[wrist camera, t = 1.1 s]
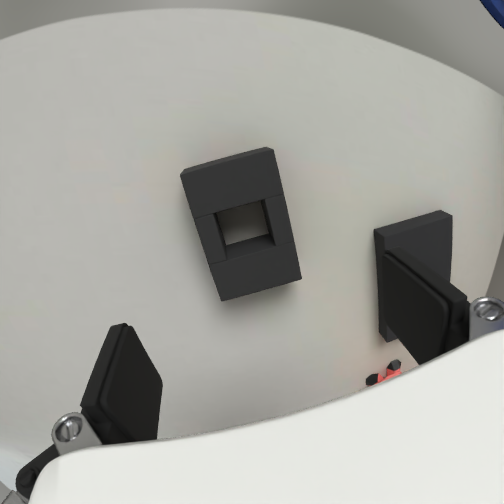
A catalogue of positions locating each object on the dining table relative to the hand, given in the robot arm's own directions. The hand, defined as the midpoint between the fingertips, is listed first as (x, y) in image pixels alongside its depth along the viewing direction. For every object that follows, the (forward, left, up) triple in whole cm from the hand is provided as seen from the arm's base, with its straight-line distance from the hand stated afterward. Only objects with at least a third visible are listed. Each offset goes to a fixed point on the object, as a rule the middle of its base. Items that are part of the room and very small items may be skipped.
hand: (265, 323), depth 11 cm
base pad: (+11, +15, -15) cm, 24 cm away
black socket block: (+1, 0, -15) cm, 15 cm away
